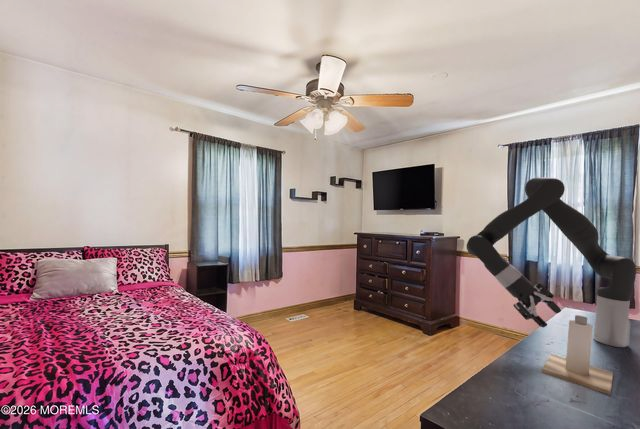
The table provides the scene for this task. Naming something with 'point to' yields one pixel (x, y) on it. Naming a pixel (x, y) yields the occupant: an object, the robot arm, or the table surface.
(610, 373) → the oak board
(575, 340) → the lotion bottle
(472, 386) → the table surface
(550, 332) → the table surface
